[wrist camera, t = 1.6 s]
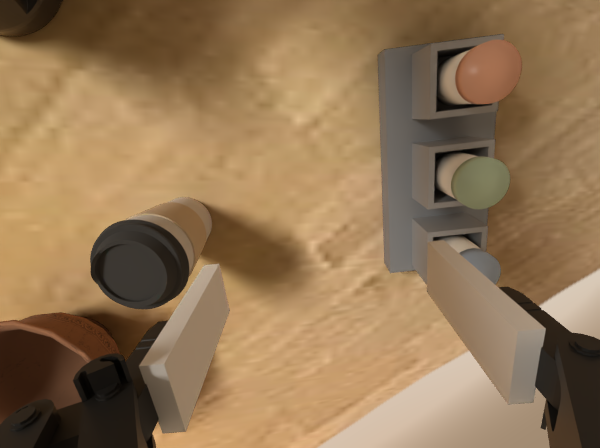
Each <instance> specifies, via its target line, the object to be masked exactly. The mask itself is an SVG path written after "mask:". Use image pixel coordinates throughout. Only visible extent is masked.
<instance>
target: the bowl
mask: <svg viewBox="0 0 600 448" xmlns="http://www.w3.org/2000/svg"><path fill="white" fill-rule="evenodd" d="M114 353H118V354H120V353H119V350H118V347H117V344H116V342H115V341H114V340H113V338H112V336H111V334H110V333H109V331H108V330H107V329H106V328H105V327H104V326H103V325H101V324H100V323H98V322H96V321H94V320H93V319H88V318H84V317H79V316H74V315H70V314H66V313H51V314H41V315H34V316H30V317H28V318H25V319H23V320H20V321H16V320H11V321H3V322H0V424H1V423H2V422H3V421H4V420H5V419H6V418H7V417H8V416H10V415H11V414H12V413H13V412H15V411H16V410H18V409H19V408H21V407H23V406H25V405H26V404H29V403H32V402H34V401H37V400H42V399H48V400H52V402H53V403H54V405H55V407H56V409H57V410H58V409H61V408H64V407H67V406H70V405H73V404H76V403H79V402H81V401H82V400H81V398H80V396H79V393H78V391H77V389H76V387H75V385H74V382H73V379H74V377H75V374H76V373H77V372H78V371H79V370H80V369H81V368H82V367H83V366H84V365H86V364H87V363H89V362H90V361H92V360H94V359H96V358H98V357H100V356H103V355H107V354H114Z"/></svg>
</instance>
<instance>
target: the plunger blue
mask: <svg viewBox="0 0 600 448" xmlns="http://www.w3.org/2000/svg"><path fill="white" fill-rule="evenodd" d="M440 240H444V241H445V242H446V243H448V244H449V245H450V246H451V247H452V248H453V249H455V250H456V251H457V252H458V253H459V254H460V255H461V256H463V257H464V258H465V259H466V260H467V261H468V262H470V263H471V264H472V265H473V266H474V267H475V268H476V269H478V270H479V271H480V272H481V273H482V274H483V275H485V276H486V277H487V278H488V279H489V280H490V281H491V282H493V283H494V284H496V283H497V281H498V280H499V277H500V274H501V267H500V264H499V262H498V261H497V259H496V258H494V257H493V256H492V255H490V254H489V253H488V252H486V251H484V250H482V249H480V248H479V247H478V246H476V245H475V244H474V243H472V242H471V241H470V240H468V239H467V238H466V237H464V236H463V235H461V234H459V235H449V236H440V237H436V238H435V239H434V240H433V241H440Z"/></svg>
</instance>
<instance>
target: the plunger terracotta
mask: <svg viewBox="0 0 600 448" xmlns="http://www.w3.org/2000/svg"><path fill="white" fill-rule="evenodd" d="M521 69H522V62H521V57H520V54H519V52H518V50H517V49H516V47H515V46H514V45H513V44H511V43H510V42H507V41H505V40H491V41H488V42H485V43H482V44H480V45H478V46H475V47H474V48H472V49H471V50H468V51H466V52H463V53H460V54H458V55H455V56H453V57H450V58H448V59H446V60H445V61H444V62H442V63H441V64H440V65H439V67H438V68H437V89H436V98H437V99H438V100H439V101H440V102H442V103H444V104H447V105H460V104H490V103H495V102H498V101H500V100H502V99H503V98H505V97H506V96H507V95H508V94H509V93H510V92H511V91H512V90H513V89H514V87H515V86H516V84H517V82H518V80H519V78H520V75H521Z"/></svg>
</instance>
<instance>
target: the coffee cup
mask: <svg viewBox="0 0 600 448" xmlns="http://www.w3.org/2000/svg"><path fill="white" fill-rule="evenodd" d="M211 229H212V219H211V216H210V213H209V212H208V210H207V209H206V207H205V206H204V205H203V204H202V203H200V202H199V201H197V200H195V199H192V198H188V197H180V198H176V199H174V200H171V201H169V202H167V203H162V204H160V205H157V206H155V207H153V208H150V209H148V210H145V211H143V212H141V213H138V214H136V215H134V216H131V217H129V218H127V219H126V220H124V221H120V222H117V223H114V224H112V225H111V226H109V227H108V228H106V229H105V230H104V231H103V232H102V233H101V234H100V236H99V237H98V238H97V240H96V241H95V243H94V245H93V248H92V251H91V258H90V262H91V276H92V278H93V280H94V281H95V282H96V283H97V284H98V285H99V287H100V288H101V290H102V291H103V292H104V293H105V294H106V295H107V296H108V297H109V298H110V299H112V300H113V301H115V302H117V303H119V304H121V305H124V306H127V307H130V308H135V309H152V308H156V307H159V306H161V305H164V304H165V303H167V302H168V301H170V300H172V299H173V298H175V297H176V296H177V295H179V294H180V293H181V291H182V290H183V289H184V287H185V285H186V283H187V281H188V277H189V276H190V274H191V273H192V271H193V269H194V267H195V265H196V263H197V261H198V259H199V256H200V254H201V252H202V250H203V248H204V246H205V243H206V240H207V238H208V236H209V235H210V232H211Z"/></svg>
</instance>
